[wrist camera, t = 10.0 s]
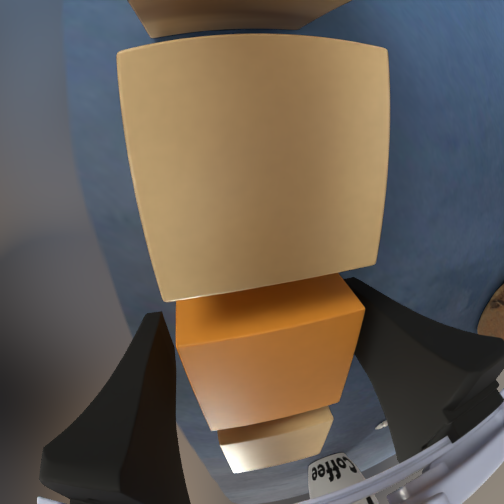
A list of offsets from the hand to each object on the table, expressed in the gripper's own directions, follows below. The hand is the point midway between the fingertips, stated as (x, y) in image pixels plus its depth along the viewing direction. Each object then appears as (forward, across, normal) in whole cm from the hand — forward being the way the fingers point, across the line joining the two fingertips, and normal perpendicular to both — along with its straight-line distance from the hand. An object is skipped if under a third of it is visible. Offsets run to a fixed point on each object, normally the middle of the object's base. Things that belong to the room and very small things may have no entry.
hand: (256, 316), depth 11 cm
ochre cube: (+2, 0, 0) cm, 2 cm away
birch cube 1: (+2, 0, +6) cm, 7 cm away
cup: (+2, -8, +31) cm, 32 cm away
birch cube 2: (+2, 0, -6) cm, 7 cm away
